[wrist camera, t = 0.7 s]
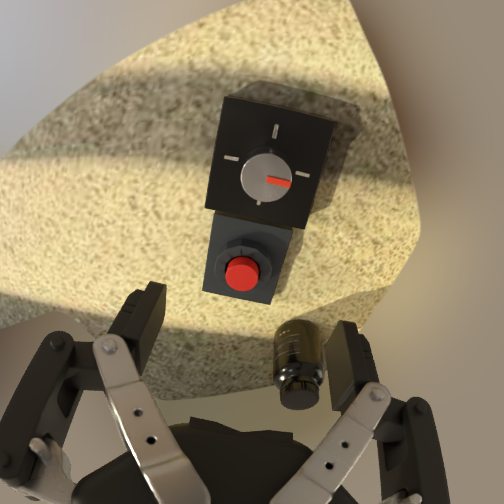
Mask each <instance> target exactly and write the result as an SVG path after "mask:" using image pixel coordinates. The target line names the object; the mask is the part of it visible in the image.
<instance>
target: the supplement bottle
mask: <svg viewBox="0 0 504 504" xmlns="http://www.w3.org/2000/svg"><path fill="white" fill-rule="evenodd" d="M324 378H325V371H324V363H323V355H322V347H321V339H320V334H319V331H318V329H317V328H316V327H315V326H314V325H313V324H312V323H310V322H307V321H303V320H293V321H289V322H286V323H284V324H283V325H281V326H280V327H279V328H278V329H277V331H276V332H275V335H274V355H273V381H274V384H275V385H276V387H277V388H278V389H279V390H280V401H281V404H282V405H283V406H284V407H286V408H288V409H292V410H305V409H308V408H311V407H313V406H314V405H316V403H318V401H319V387H320V386H321V385H322V383H323V381H324Z"/></svg>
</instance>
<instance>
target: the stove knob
mask: <svg viewBox="0 0 504 504" xmlns="http://www.w3.org/2000/svg"><path fill="white" fill-rule="evenodd" d="M291 181H292V175H291V169H290V164H289V159H288V157H287V155H286V154H285V152H284V151H283V150H282V149H280V148H279V147H277V146H274V145H270V144H264V145H260V146H257V147H255V148H254V149H252V150H251V151H250V153H249V154H248V156H247V158H246V160H245V163H244V166H243V168H242V171H241V184H242V187H243V189H244V190H245V192H246V193H247V194H248V195H249V196H250V197H252V198H253V199H255V200H258V201H261V202H272V201H275V200H278V199H280V198H281V197H283V196H284V195H285V194H286V193H287V191H288V190H289V188H290V186H291Z"/></svg>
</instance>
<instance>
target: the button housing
mask: <svg viewBox="0 0 504 504" xmlns="http://www.w3.org/2000/svg"><path fill="white" fill-rule="evenodd" d="M292 232H293V229H292V227H291V226H286V225H282V224H277V223H273V222H268V221H264V220H259V219H254V218H250V217H245V216H241V215H236V214H231V213H226V212H222V211H217V210H216V211H215V213H214V217H213V223H212V229H211V236H210V242H209V248H208V254H207V261H206V268H205V274H204V281H203V288H202V291H205V292H210V293H215V294H219V295H224V296H229V297H233V298H238V299H243V300H248V301H253V302H258V303H263V304H268V305H270V304H271V301H272V297H273V294H274V291H275V288H276V285H277V281H278V278H279V275H280V272H281V268H282V265H283V262H284V259H285V255H286V252H287V249H288V245H289V242H290V239H291V235H292ZM237 257H248V258H250V259H252V260H253V261H255V263H256V264H257V266H258V269H259V273H258V282H257V284H256V285H255V287H253V288H252V289H250V290H247V291H238V290H235V289H233V288H232V287H230V286H229V285H228V283H227V281H226V272H227V268H228V265H229V263H230V262H231V261H232V260H233V259H234V258H237Z"/></svg>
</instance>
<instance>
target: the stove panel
mask: <svg viewBox="0 0 504 504" xmlns="http://www.w3.org/2000/svg"><path fill="white" fill-rule="evenodd" d="M335 124H336V122H334V121H333V120H331V119H329V118H325V117H322V116H318V115H315V114H311V113H307V112H303V111H299V110H295V109H291V108H287V107H283V106H278V105H274V104H269V103H265V102H260V101H255V100H250V99H245V98H239V97H234V96H225V97H224V100H223V105H222V110H221V115H220V120H219V126H218V131H217V136H216V142H215V147H214V153H213V159H212V164H211V170H210V176H209V182H208V188H207V195H206V201H205V208H207V209H212V210H217V211H222V212H226V213H231V214H236V215H241V216H245V217H250V218H254V219H259V220H264V221H268V222H273V223H277V224H282V225H286V226H291V227H295V228H299V229H305V227H306V224H307V221H308V217H309V214H310V211H311V208H312V204H313V201H314V198H315V194H316V191H317V188H318V184H319V181H320V177H321V174H322V171H323V167H324V164H325V160H326V157H327V153H328V150H329V146H330V143H331V139H332V135H333V132H334V128H335ZM264 144H270V145H274V146H277V147H279V148H280V149H282V150H283V151H284V152H285V154H286V155H287V157H288V159H289V164H290V169H291V175H292V181H291V186H290V188H289V190H288V191H287V193H286V194H285V195H284V196H283V197H281V198H280V199H278V200H275V201H272V202H261V201H258V200H255V199H253V198H252V197H250V196H249V195H248V194H247V193H246V192H245V190H244V189H243V187H242V184H241V171H242V168H243V166H244V163H245V160H246V158H247V156H248V154H249V153H250V151H251V150H252V149H254V148H255V147H257V146H260V145H264Z"/></svg>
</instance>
